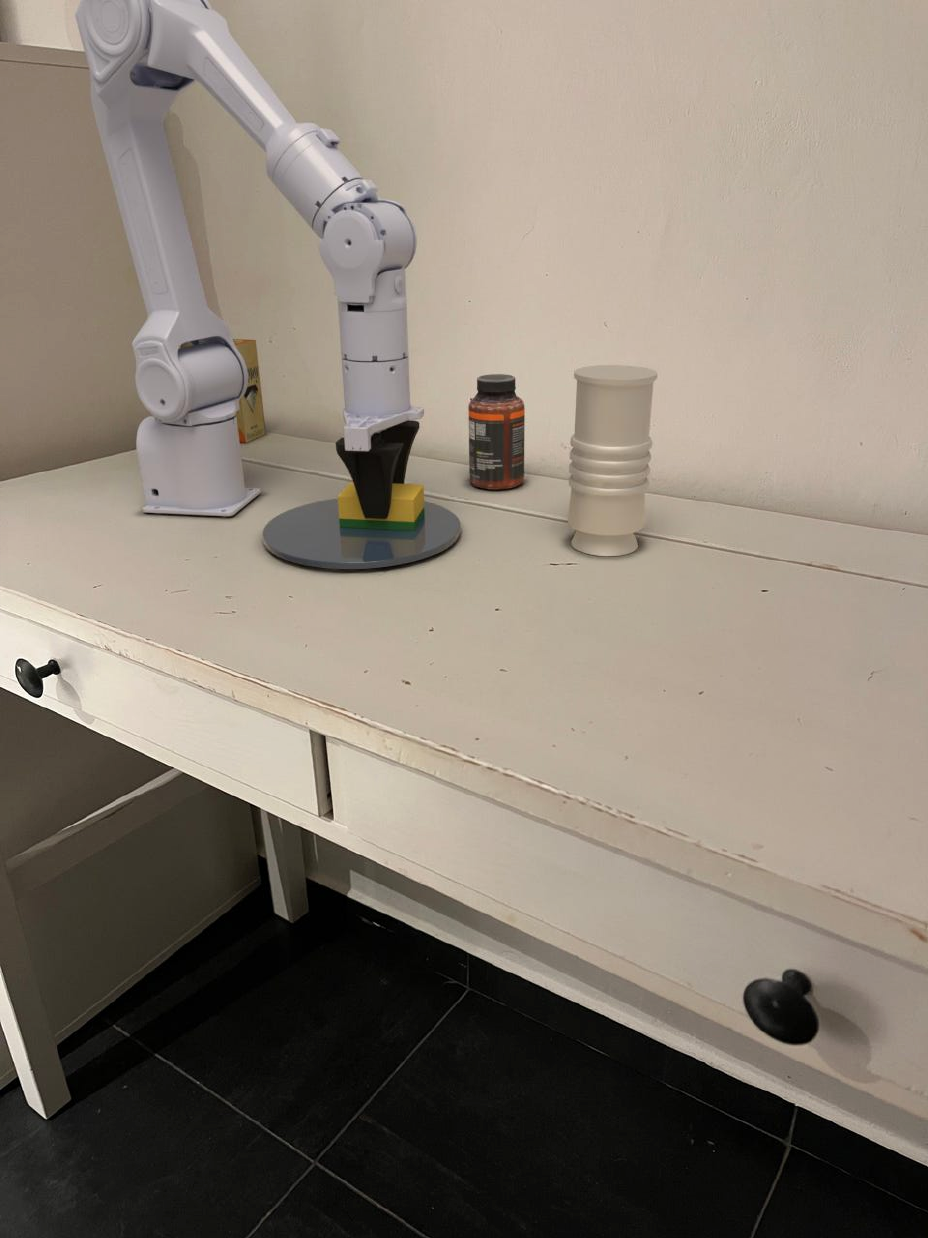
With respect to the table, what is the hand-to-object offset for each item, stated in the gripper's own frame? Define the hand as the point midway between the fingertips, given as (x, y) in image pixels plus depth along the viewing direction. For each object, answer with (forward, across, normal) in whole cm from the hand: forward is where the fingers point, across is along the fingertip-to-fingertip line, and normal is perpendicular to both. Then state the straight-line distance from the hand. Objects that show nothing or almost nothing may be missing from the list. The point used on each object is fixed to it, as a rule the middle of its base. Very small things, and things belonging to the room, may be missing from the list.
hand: (383, 508), depth 81 cm
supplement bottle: (+2, +16, -8) cm, 19 cm away
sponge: (+1, 0, 0) cm, 1 cm away
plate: (+2, -2, +2) cm, 3 cm away
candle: (+2, 0, -20) cm, 21 cm away
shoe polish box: (+2, +32, +28) cm, 43 cm away
